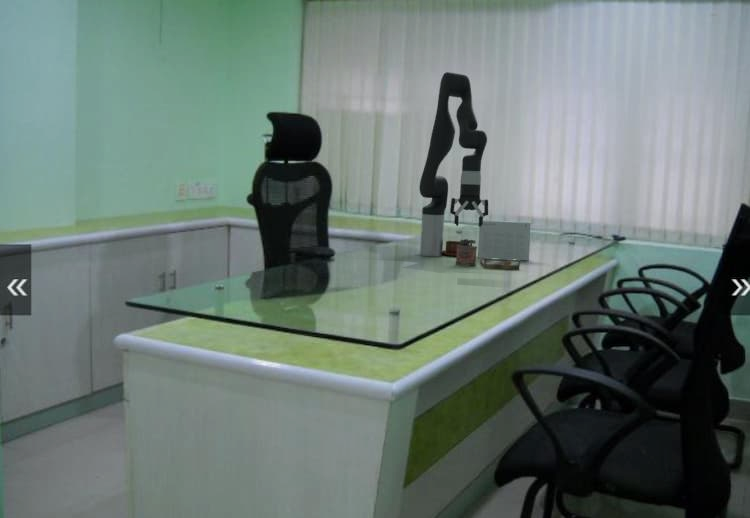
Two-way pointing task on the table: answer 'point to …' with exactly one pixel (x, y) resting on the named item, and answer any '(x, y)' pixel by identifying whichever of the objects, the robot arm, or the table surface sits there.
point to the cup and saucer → (451, 248)
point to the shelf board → (500, 263)
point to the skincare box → (504, 240)
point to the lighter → (466, 253)
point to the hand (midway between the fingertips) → (468, 226)
